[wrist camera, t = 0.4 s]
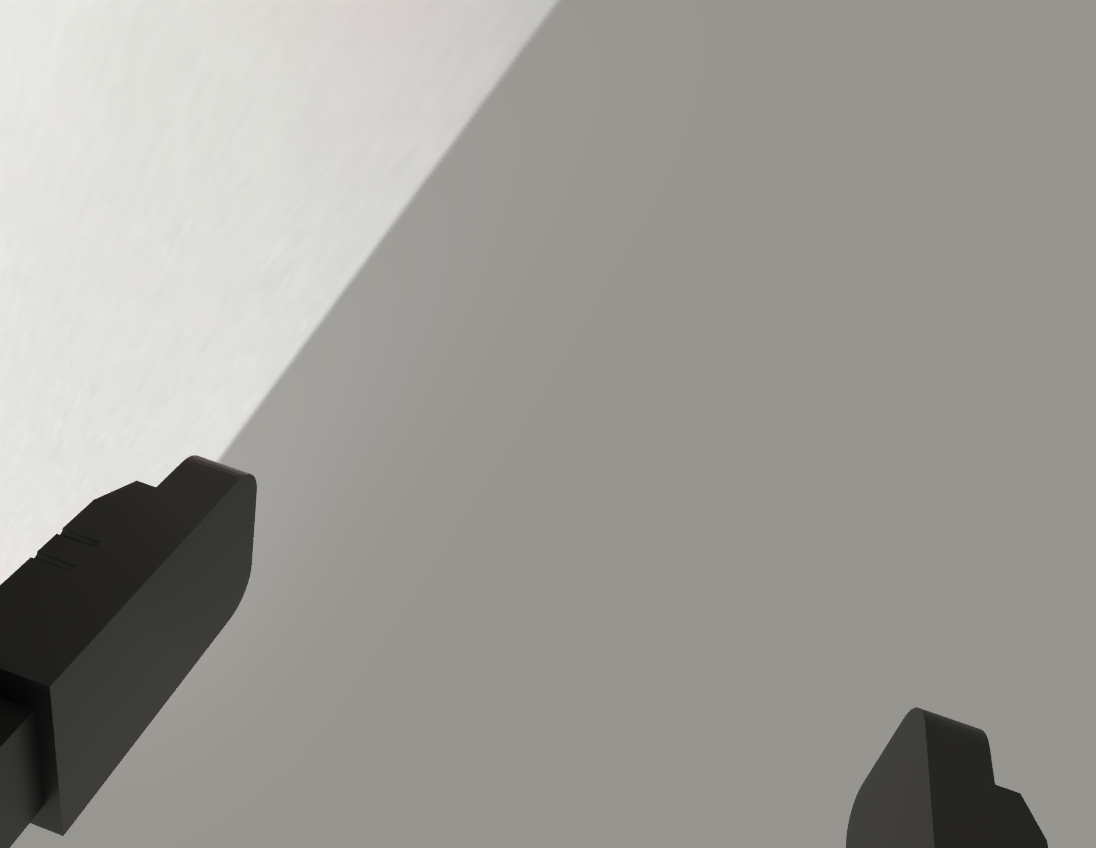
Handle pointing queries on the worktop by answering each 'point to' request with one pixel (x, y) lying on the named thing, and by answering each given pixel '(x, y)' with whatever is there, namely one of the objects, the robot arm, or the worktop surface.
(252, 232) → the worktop surface
